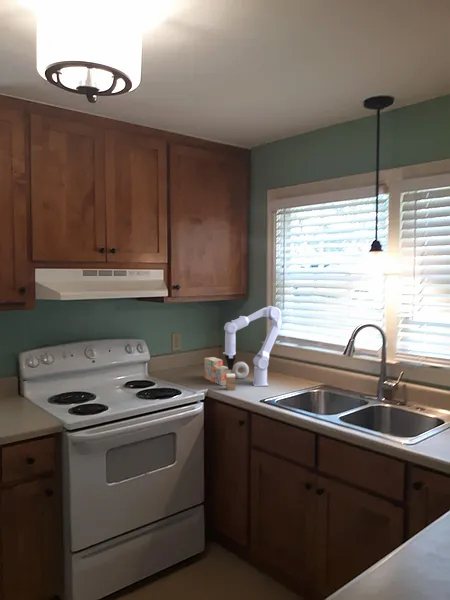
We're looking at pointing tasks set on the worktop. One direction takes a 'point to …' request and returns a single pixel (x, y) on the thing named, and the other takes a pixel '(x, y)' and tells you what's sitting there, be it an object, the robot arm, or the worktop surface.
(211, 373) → the stack of blocks
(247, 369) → the donut
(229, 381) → the walnut block
